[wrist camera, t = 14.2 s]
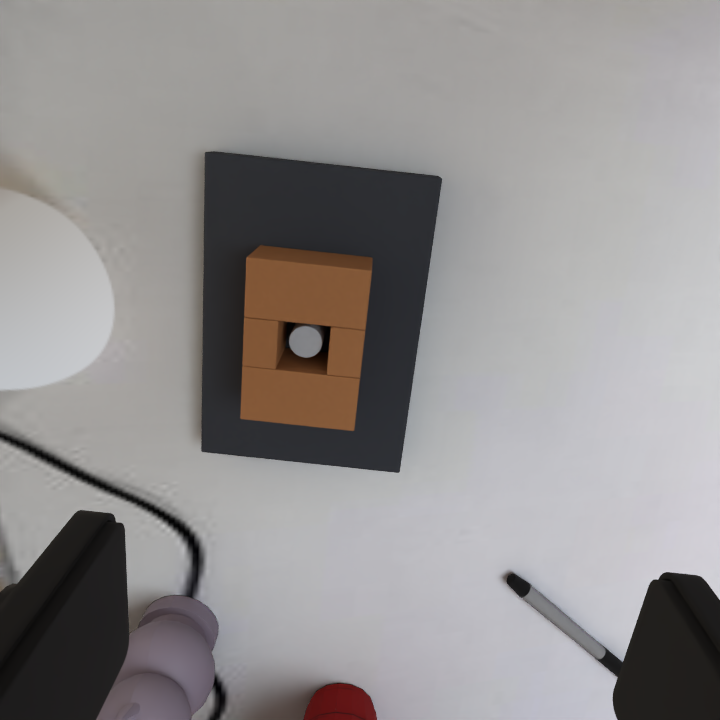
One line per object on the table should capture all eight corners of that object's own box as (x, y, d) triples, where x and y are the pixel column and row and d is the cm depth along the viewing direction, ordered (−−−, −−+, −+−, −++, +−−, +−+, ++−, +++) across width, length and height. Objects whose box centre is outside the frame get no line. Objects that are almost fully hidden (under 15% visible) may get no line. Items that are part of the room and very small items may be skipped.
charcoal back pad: (213, 151, 37) (189, 152, 32) (439, 176, 37) (447, 181, 32) (208, 438, 44) (188, 474, 39) (398, 459, 44) (400, 497, 39)
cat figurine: (218, 674, 52) (172, 822, 40) (128, 653, 51) (57, 797, 40) (237, 599, 49) (195, 736, 38) (142, 575, 48) (70, 708, 37)
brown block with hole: (259, 244, 37) (246, 256, 33) (372, 257, 37) (372, 270, 33) (253, 393, 40) (240, 419, 36) (356, 404, 40) (354, 431, 37)
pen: (514, 567, 47) (518, 579, 46) (647, 679, 50) (654, 692, 49) (502, 577, 47) (505, 589, 46) (635, 687, 51) (641, 701, 50)
